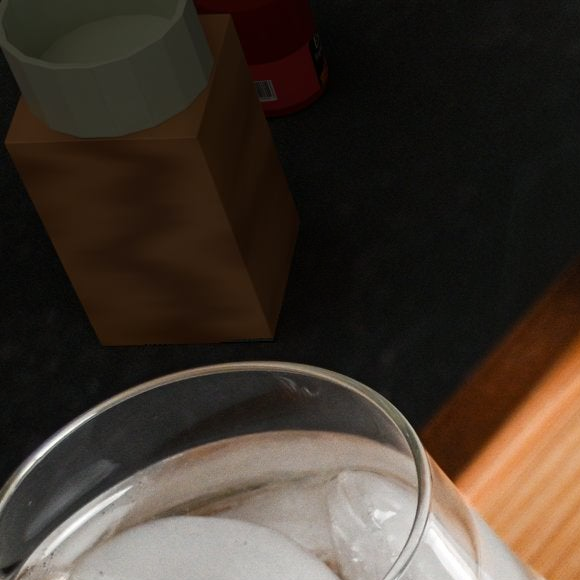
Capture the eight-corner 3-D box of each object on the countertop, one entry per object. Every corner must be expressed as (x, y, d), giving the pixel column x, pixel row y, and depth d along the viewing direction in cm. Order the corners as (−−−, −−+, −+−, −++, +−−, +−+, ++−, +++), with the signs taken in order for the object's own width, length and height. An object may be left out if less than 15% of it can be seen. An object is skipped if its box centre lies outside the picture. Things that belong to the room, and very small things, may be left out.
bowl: (7, 140, 118) (-26, 71, 114) (49, 21, 124) (19, -50, 120) (194, 135, 117) (167, 64, 113) (226, 15, 124) (202, -56, 119)
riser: (101, 346, 132) (3, 143, 118) (136, 226, 139) (47, 19, 124) (274, 342, 132) (196, 137, 117) (301, 221, 138) (230, 13, 124)
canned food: (348, 91, 146) (310, -40, 136) (254, 135, 143) (208, 4, 134) (302, 41, 149) (262, -91, 140) (209, 82, 147) (162, -48, 138)
